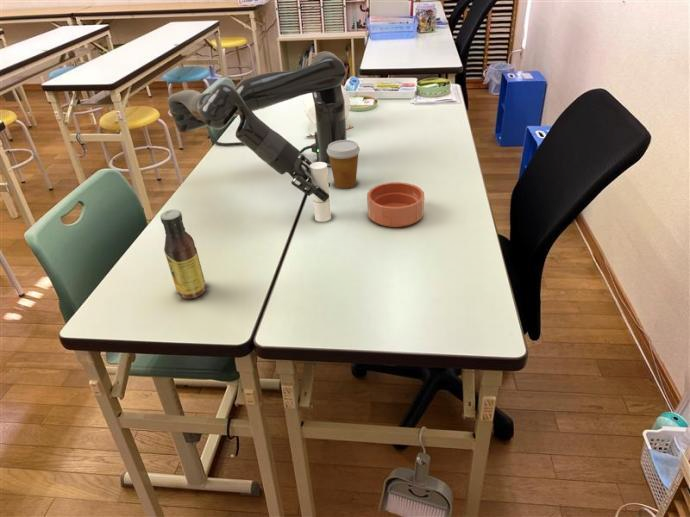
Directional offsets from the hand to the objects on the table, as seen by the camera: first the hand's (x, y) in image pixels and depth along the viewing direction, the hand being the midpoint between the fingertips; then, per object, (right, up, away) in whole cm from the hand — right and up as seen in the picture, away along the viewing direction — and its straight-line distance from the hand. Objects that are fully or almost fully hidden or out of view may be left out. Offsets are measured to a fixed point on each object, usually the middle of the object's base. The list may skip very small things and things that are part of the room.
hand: (327, 193), depth 134 cm
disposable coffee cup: (+5, +5, +20) cm, 22 cm away
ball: (-1, +31, +59) cm, 67 cm away
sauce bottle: (-29, -24, -20) cm, 43 cm away
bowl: (+18, -5, +3) cm, 19 cm away
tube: (-1, -6, +4) cm, 8 cm away
